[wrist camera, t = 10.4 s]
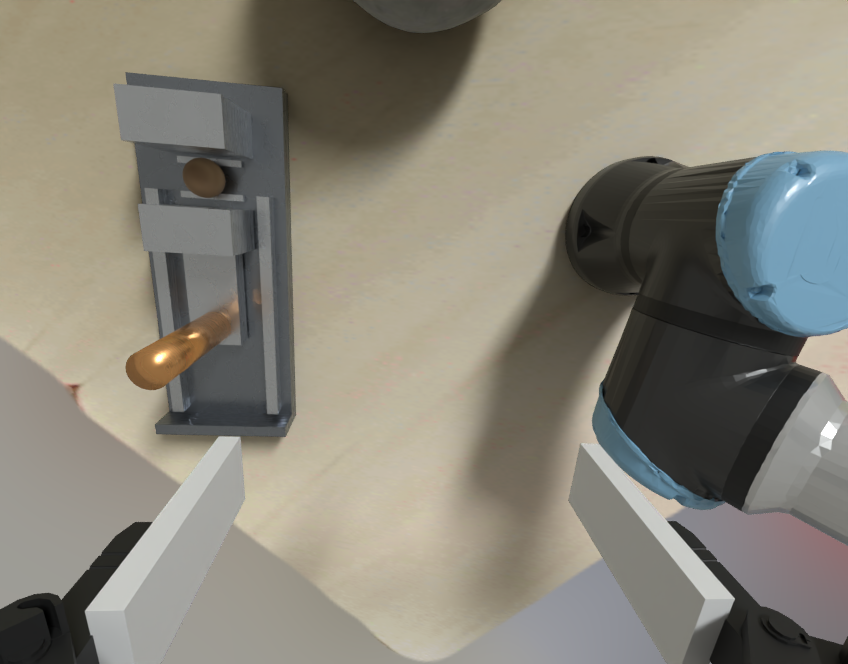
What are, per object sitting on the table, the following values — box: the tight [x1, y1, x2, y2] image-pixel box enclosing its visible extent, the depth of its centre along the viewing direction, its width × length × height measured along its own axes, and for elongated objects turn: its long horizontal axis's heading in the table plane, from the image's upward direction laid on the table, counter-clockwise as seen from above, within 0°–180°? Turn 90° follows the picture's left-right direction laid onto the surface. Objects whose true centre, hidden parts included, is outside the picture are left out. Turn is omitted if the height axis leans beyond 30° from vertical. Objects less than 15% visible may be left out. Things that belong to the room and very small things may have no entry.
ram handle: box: [126, 204, 255, 390], centre depth 35 cm, size 14×8×14 cm, turn 176°
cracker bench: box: [114, 72, 296, 437], centre depth 40 cm, size 36×14×9 cm, turn 176°
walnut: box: [183, 158, 226, 198], centre depth 38 cm, size 4×4×4 cm
